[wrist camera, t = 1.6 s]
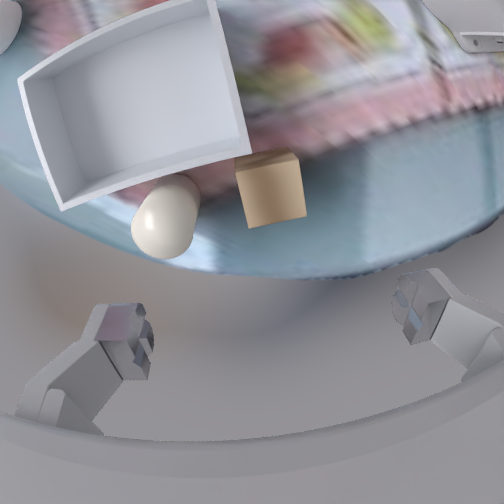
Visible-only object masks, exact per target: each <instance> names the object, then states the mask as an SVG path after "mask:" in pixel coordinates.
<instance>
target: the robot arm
mask: <svg viewBox="0 0 504 504" xmlns="http://www.w3.org/2000/svg"><path fill="white" fill-rule="evenodd" d="M422 2H423V3H424V4H425V5H426V7H427V8H428V9H429V10H430V11H431V12H432V13H433V14H434V15H435V16H436V17H437V18H438V19H439V20H440V21H441V22H442V23H443V24H445V25H446V26H447V27H448V28H449V29H450V30H451V32H452V33H453V35H454V36H455V38H456V40H457V41H458V43H459V44H460V46H461V47H462V49H463V50H464V51H465V52H467V53H477V52H504V0H422ZM474 43H475V44H474ZM397 287H398V291H397V292H396V293H395V294H394V295H393V299H392V313H393V316H394V318H395V320H396V321H397V322H398V323H400V324H402V325H403V333H404V334H405V336H406V338H407V339H408V341H409V343H410V345H413V344H417V343H421V342H424V341H428V340H431V342H432V343H434V344H435V345H436V346H438V347H439V348H440V349H442V350H443V351H444V352H446V353H447V354H449V355H450V356H451V357H453V358H454V359H455V360H457V361H458V362H459V363H461V364H462V365H463V366H465V367H466V368H467V369H468V370H467V371H466V373H465V374H464V375H463V377H462V379H461V383H459V384H457V385H455V386H452V387H450V388H448V389H446V390H443V391H441V392H439V393H436V394H434V395H431V396H429V397H426V398H424V399H421V400H418V401H416V402H413V403H410V404H407V405H404V406H402V407H399V408H396V409H393V410H389V411H386V412H383V413H380V414H376V415H373V416H370V417H366V418H362V419H359V420H355V421H351V422H347V423H342V424H338V425H334V426H330V427H324V428H320V429H315V430H309V431H304V432H298V433H291V434H285V435H278V436H271V437H261V438H252V439H240V440H225V441H198V442H195V441H191V442H189V441H183V442H182V441H154V440H139V439H127V438H118V437H110V436H104V434H103V432H102V431H101V430H100V429H99V428H98V427H97V426H96V425H95V424H94V423H93V422H92V420H93V419H94V418H95V416H96V415H97V414H98V412H99V411H100V410H101V409H102V408H103V406H104V405H105V404H106V403H107V401H108V400H109V399H110V397H111V396H112V395H113V394H114V392H115V391H116V390H117V389H118V387H119V386H120V385H121V383H122V382H123V381H122V380H148V375H149V370H150V364H151V363H150V361H149V359H148V356H149V355H150V354H151V353H152V352H153V347H154V335H153V331H152V327H151V325H150V323H149V322H148V321H146V320H145V315H146V312H145V309H144V307H143V305H142V304H141V303H117V304H98V305H96V306H95V307H94V309H93V312H92V314H91V316H90V318H89V320H88V323H87V325H86V327H85V330H84V332H83V335H82V337H81V339H80V341H75V342H74V343H73V344H72V345H70V346H69V347H68V348H67V349H66V350H64V351H63V352H62V353H61V354H60V355H58V356H57V357H56V358H55V359H54V360H52V361H51V362H50V363H49V364H48V365H47V366H45V367H44V368H43V369H42V370H41V371H40V372H38V373H37V374H36V375H35V376H34V377H33V378H32V379H30V380H29V381H28V382H27V383H26V386H25V388H24V391H23V393H22V396H21V399H20V402H19V404H18V407H17V410H16V413H15V415H11V414H8V413H5V412H2V411H0V504H504V313H502V312H500V311H498V310H496V309H494V308H492V307H490V306H488V305H486V304H484V303H482V302H480V301H478V300H476V299H474V298H472V297H470V296H468V295H466V294H465V295H462V294H461V292H460V291H459V290H458V289H457V288H456V287H455V286H454V285H453V283H452V282H451V281H450V280H449V279H448V278H447V277H446V276H445V275H444V274H443V273H442V271H441V270H439V269H437V268H432V269H428V270H424V271H418V272H413V273H407V274H401V275H400V277H399V278H398V281H397Z"/></svg>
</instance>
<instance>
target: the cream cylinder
mask: <svg viewBox="0 0 504 504" xmlns="http://www.w3.org/2000/svg"><path fill="white" fill-rule="evenodd" d="M200 203H201V194H200V191H199V188H198V186H197V185H196V184H195V182H194V181H193V180H191V179H190V178H188V177H186V176H184V175H180V174H170V175H167V176H164V177H162V178H161V179H160V180H159V181H157V183H156V184H155V185H154V187H153V188H152V190H151V191H150V193H149V194H148V196H147V197H146V199H145V200H144V202H143V203H142V205H141V206H140V208H139V209H138V211H137V212H136V214H135V215H134V217H133V220H132V224H131V232H132V236H133V239H134V241H135V243H136V244H137V246H138V247H139V248H140V249H141V250H142V251H143V252H145V253H146V254H148V255H150V256H152V257H155V258H159V259H171V258H175V257H177V256H180V255H181V254H183V253H184V252H185V251H186V250H187V249H188V248H189V246H190V244H191V242H192V238H193V234H194V229H195V225H196V220H197V216H198V211H199V207H200Z"/></svg>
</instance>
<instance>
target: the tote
mask: <svg viewBox="0 0 504 504" xmlns="http://www.w3.org/2000/svg"><path fill="white" fill-rule="evenodd" d="M17 80H18V85H19V90H20V94H21V98H22V102H23V106H24V110H25V113H26V117H27V121H28V124H29V127H30V131H31V134H32V137H33V140H34V143H35V146H36V149H37V152H38V155H39V158H40V161H41V163H42V166H43V169H44V171H45V174H46V177H47V179H48V182H49V184H50V187H51V189H52V192H53V194H54V196H55V199H56V201H57V203H58V206H59V208H60V210H61V211H64V210H66V209H69V208H71V207H74V206H77V205H79V204H82V203H84V202H87V201H90V200H92V199H95V198H98V197H101V196H104V195H106V194H109V193H112V192H115V191H118V190H121V189H124V188H127V187H130V186H133V185H136V184H139V183H142V182H145V181H149V180H152V179H155V178H158V177H162V176H165V175H169V174H172V173H176V172H179V171H183V170H186V169H190V168H194V167H197V166H201V165H205V164H209V163H213V162H217V161H221V160H225V159H230V158H234V157H238V156H243V155H247V154H252V150H251V146H250V141H249V137H248V133H247V128H246V124H245V119H244V115H243V111H242V107H241V102H240V98H239V94H238V90H237V85H236V81H235V77H234V73H233V69H232V65H231V61H230V56H229V52H228V48H227V44H226V40H225V36H224V32H223V28H222V24H221V21H220V17H219V13H218V9H217V5H216V1H215V0H170V1H167V2H164V3H161V4H158V5H155V6H152V7H149V8H146V9H144V10H141V11H138V12H136V13H133V14H131V15H128V16H126V17H124V18H121V19H119V20H117V21H114V22H112V23H110V24H108V25H106V26H104V27H101V28H99V29H97V30H95V31H93V32H91V33H89V34H88V35H86V36H84V37H82V38H80V39H78V40H76V41H75V42H73V43H71V44H69V45H68V46H66V47H64V48H62V49H61V50H59V51H57V52H56V53H54V54H53V55H51V56H50V57H48V58H46V59H45V60H43V61H42V62H40V63H39V64H37V65H36V66H35V67H33V68H32V69H30V70H29V71H27V72H26V73H25V74H23V75H22V76H21V77H19V78H18V79H17Z"/></svg>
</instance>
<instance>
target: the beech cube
mask: <svg viewBox="0 0 504 504" xmlns="http://www.w3.org/2000/svg"><path fill="white" fill-rule="evenodd" d="M234 161H235V174H236V178H237V182H238V187H239V191H240V195H241V199H242V203H243V207H244V211H245V215H246V219H247V223H248V227H249V228H253V227H258V226H263V225H267V224H272V223H276V222H281V221H286V220H291V219H295V218H300V217H305V216H307V213H306V206H305V199H304V192H303V185H302V178H301V172H300V166H299V160H298V158H297V157H296V156H295V155H294V154H293V153H292V152H291V151H290V149H289V148H288V147H283V148H278V149H273V150H268V151H263V152H258V153H253V154H249V155H244V156H240V157H235V158H234Z"/></svg>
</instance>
